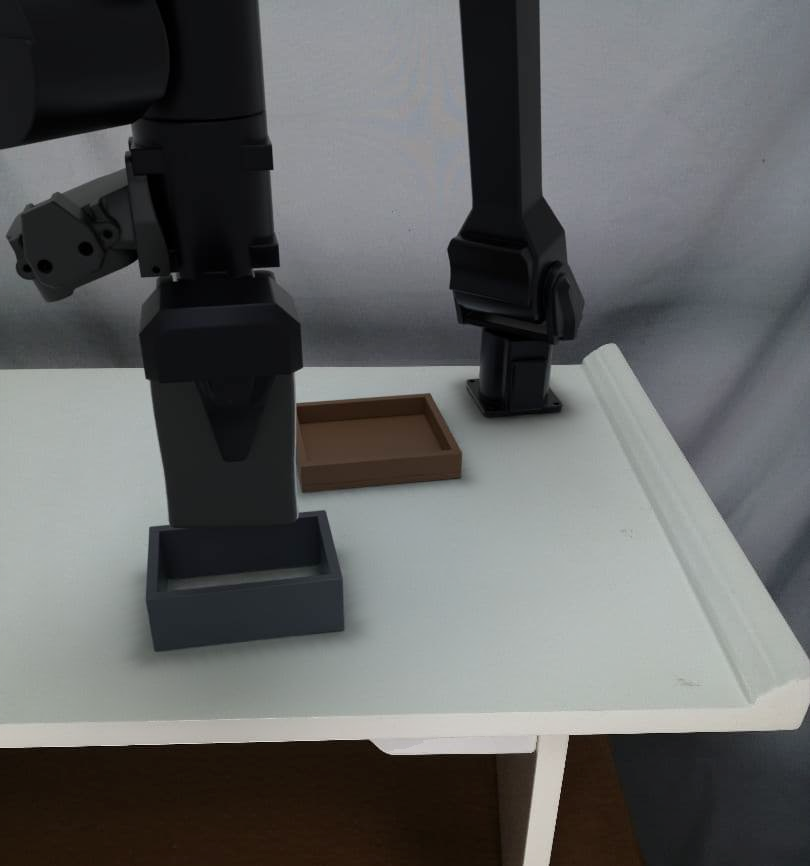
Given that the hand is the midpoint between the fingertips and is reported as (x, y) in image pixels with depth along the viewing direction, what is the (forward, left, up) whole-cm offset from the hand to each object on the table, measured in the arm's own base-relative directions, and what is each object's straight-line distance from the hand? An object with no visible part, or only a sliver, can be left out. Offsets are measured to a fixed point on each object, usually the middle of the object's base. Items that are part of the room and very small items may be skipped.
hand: (232, 439), depth 49 cm
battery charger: (+1, 0, -4) cm, 4 cm away
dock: (0, 0, -10) cm, 10 cm away
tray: (-17, +10, -10) cm, 22 cm away
